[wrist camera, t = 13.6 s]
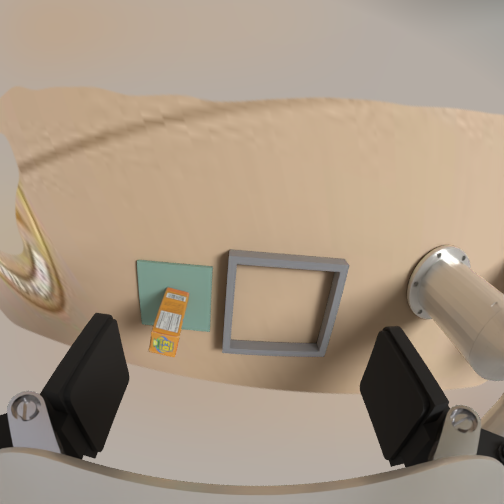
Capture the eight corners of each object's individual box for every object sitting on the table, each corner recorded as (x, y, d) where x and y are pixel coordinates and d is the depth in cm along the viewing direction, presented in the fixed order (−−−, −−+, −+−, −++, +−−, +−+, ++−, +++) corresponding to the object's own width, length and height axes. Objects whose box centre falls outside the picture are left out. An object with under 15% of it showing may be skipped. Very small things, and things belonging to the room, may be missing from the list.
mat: (212, 266, 38) (212, 268, 38) (209, 329, 42) (209, 331, 42) (138, 259, 38) (136, 261, 37) (142, 322, 41) (142, 324, 41)
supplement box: (187, 312, 40) (174, 360, 31) (163, 305, 40) (144, 352, 31) (192, 291, 39) (178, 338, 30) (167, 285, 39) (147, 329, 29)
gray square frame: (344, 259, 39) (349, 265, 37) (321, 348, 44) (324, 356, 42) (229, 249, 38) (228, 255, 36) (223, 344, 43) (222, 352, 41)
